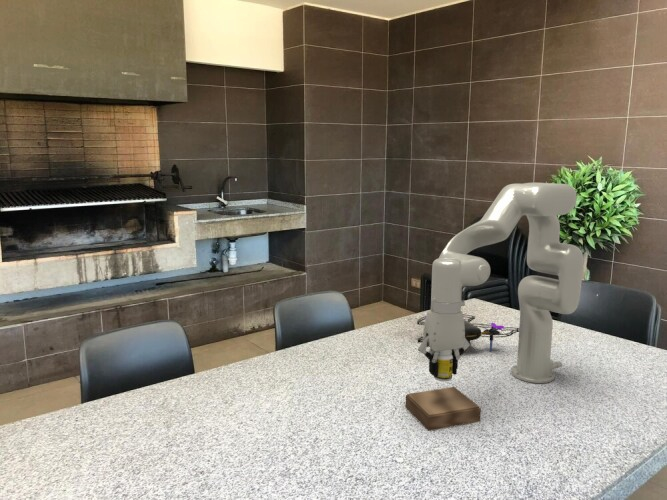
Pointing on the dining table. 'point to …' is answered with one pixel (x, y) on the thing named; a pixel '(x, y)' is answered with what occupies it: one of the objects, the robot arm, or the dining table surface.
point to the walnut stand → (442, 408)
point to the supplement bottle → (444, 365)
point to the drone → (477, 330)
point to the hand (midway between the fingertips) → (443, 373)
